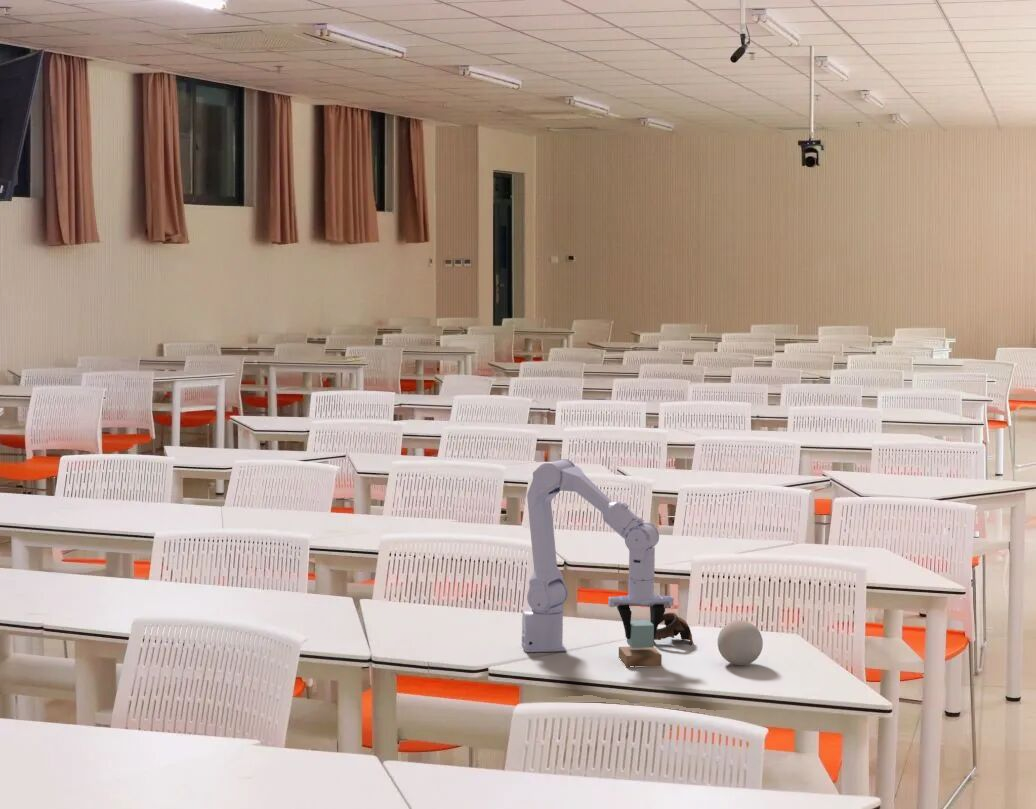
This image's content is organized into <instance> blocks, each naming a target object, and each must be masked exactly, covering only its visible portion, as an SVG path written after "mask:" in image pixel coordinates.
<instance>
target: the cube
mask: <svg viewBox="0 0 1036 809" xmlns="http://www.w3.org/2000/svg"><path fill="white" fill-rule="evenodd" d="M630 628H631V637H630V639H627V638H626V643H627V644H628V645H629V647H631V648H647V647H653V646H654V644H655V640H654V625H653V624H652V623H651V620H649V619H642V620H641V619H640V620H639V619H636V620H634V619H633V620H632V619H631V624H630ZM654 647H655V646H654Z"/></svg>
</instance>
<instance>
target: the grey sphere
mask: <svg viewBox="0 0 1036 809" xmlns="http://www.w3.org/2000/svg"><path fill="white" fill-rule="evenodd" d="M763 645H764V642H763V637H762V634H761V632H760V630H759V629H758V628H757V627H756V625H754V624H753V623H751V622H749V621H746V620H742V619H740V620H739V619H737V620H733V621H732V620H731V621H730V622H728V623H727V624H725V625H724V626H723V627H722V628H721V630H720V631H719V633H718V636H717V649H718V651H719V654H720V655H721V657H722V658H723V659H724V660H725V661H727V662H728V663H730V664H733V666H734V665H736V666H746V665H750V664H752V663H753V662H754V661H756V660H757V659H759V656H760V655H761V653H762V651H763Z"/></svg>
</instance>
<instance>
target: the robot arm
mask: <svg viewBox="0 0 1036 809" xmlns="http://www.w3.org/2000/svg"><path fill="white" fill-rule="evenodd" d="M531 480H532V481H531V483H530V486H529V488H528V491H527V493H526V497H527V498H526V499H527V508H528V511H527V512H528V520H529V521H528V522H529V530H530V538H531V539H530V541H531V549H532V550H531V551H532V560H533V572H532V574H531V576H530V578H529V581H528V584H529V585H528V586H529V588H528V591H527V595H526V600H527V604H528V606H529V607H530V610H524V611H523V612H522V617H521V618H522V619H521V621H522V623H521V646H522V648H523V649H524V651H525V652H526V653H545V652H547V653H549V652H550V653H551V652H566V651H567V648H566V646H565V645H564V643H563V635H564V634H563V632H564V630H563V628H564V627H563V626H564V612H563V611H564V604H565V602H566V601H567V600H568V596H569V589H568V586H567V585H566V583H565V581H564V575H563V573H562V572H561V569H559V568H558V563H557V562H558V561H557V551H556V538H555V532H554V519H553V508H552V500H554V498H555V497H556V496H557V495H558V494H559V493H560V492H561V491H563V492H574V493H577V494H578V495H579V496H580V497H582V498H583V499H585V500H586V501H587V502H588V503H589V504H590V505H592V506H593V507H595V508H596V509H597V510H598V511H600V513H601V514H602V520H603V522H604V523H605V524H607V525H608V526H609V527H610V528H612V530H614V532H616V533H617V535H619V536H620V537H621V538H623V539H624V543H625V546H626V548H627V549H628V551H629V553H628V555H629V556H628V587H627V588H628V594H627V595H620V596H608V602H607V603H608V604H607V605H608V607H609V608H615V607H616V609H617V611H618V614H619V615H620V618H621V621H622V624H623V628H624V635H625V638H626V640H627V639H630V637H631V628H630V624H631V620H632V612H633V611H632V610H631V607H649V612H650V614H649V615H650V622H651V623H652V624H653V625H654V638H655V635H656V631H657V629H658V627H659V625H660V624H659V622H660V620H661V618H662V616H663V614H666V613H665V612H666V608H665V606H668V607H674V597H673V596H672V595H656V594H655V566H656V565H655V562H656V561H655V560H656V558H655V556H656V555H655V549H656V547H655V546H656V545H657V544H658V543H659V540H660V534H659V533H660V532H659V530H658V529H657V528H656V527H655V525H654V524H653V523H651V522H644V521H645V520H644V519H643V518H642V517H638V516H637V515H636V514H635V513H633V511H631V510H630V509H629V505H628V504H627V503H626V502H624V503H622V502H621V501H612V500H611V499H610V498H609V497H608V496H607V495H606V494H605V493H604V492H603V491H602V490H601V489H600V488H599V487H598V486H597V485H596V484H595V483H594V482H593V481H592V480H591V479H590V478H588V476H587V475H586V474H585V473H584V471H583V470H582V469H581V467H579V466H577V465H575V464H574V462H573V461H571V460H570V459H567V458H562V459H558V460H556V461H551V462H544V463H542V464H540V465H539V466H538V467H537V468H536V469H535V470H534V471H533V472H532V479H531Z"/></svg>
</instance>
